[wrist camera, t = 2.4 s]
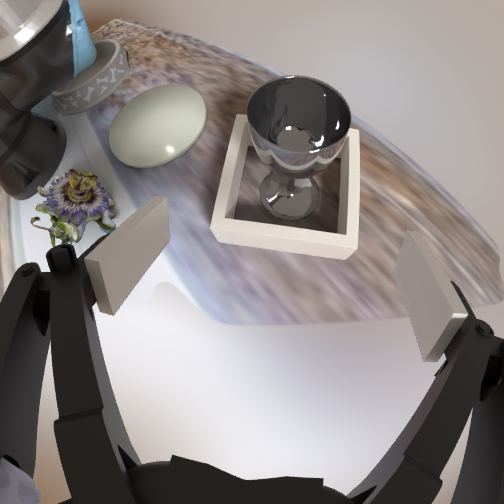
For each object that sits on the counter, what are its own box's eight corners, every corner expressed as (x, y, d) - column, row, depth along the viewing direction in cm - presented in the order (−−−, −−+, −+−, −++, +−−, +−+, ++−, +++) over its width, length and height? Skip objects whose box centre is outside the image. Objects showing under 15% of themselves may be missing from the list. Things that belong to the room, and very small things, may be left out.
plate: (98, 167, 37) (94, 163, 36) (132, 92, 41) (130, 88, 40) (191, 171, 36) (189, 166, 35) (217, 89, 39) (216, 83, 38)
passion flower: (126, 219, 41) (134, 213, 30) (75, 270, 37) (66, 281, 27) (81, 164, 37) (75, 139, 26) (30, 214, 33) (6, 206, 23)
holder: (218, 242, 33) (209, 228, 28) (240, 138, 37) (236, 114, 32) (344, 260, 32) (357, 248, 27) (349, 152, 35) (358, 130, 30)
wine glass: (326, 171, 35) (352, 85, 20) (317, 230, 33) (349, 161, 18) (263, 159, 36) (258, 70, 21) (249, 216, 34) (234, 140, 19)
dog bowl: (128, 42, 46) (120, 25, 41) (135, 87, 41) (124, 66, 36) (61, 78, 46) (50, 63, 40) (55, 130, 41) (40, 115, 36)
